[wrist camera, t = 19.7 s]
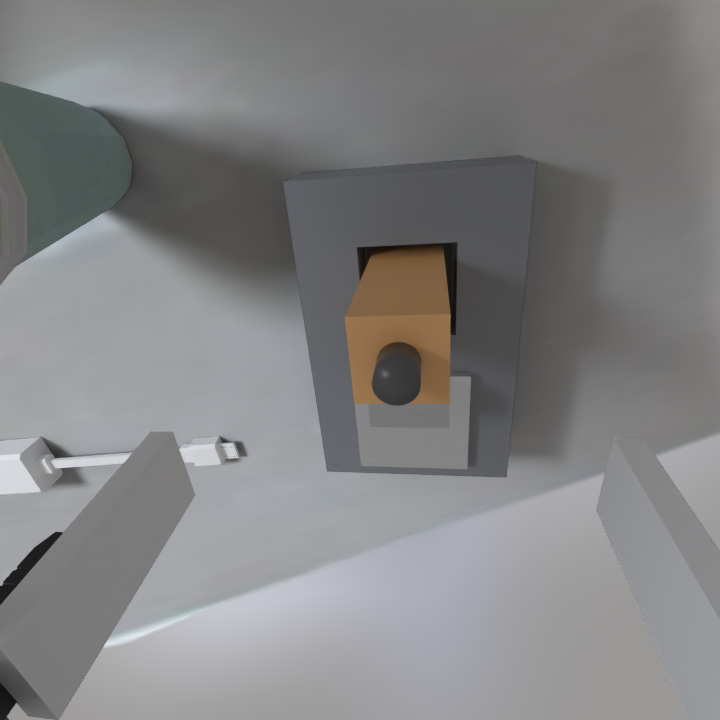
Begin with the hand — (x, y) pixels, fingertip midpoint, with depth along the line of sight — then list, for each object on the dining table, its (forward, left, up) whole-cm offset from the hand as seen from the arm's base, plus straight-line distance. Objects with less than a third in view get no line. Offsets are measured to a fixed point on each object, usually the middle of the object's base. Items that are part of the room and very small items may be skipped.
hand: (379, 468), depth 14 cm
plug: (0, 0, -19) cm, 19 cm away
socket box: (+4, 0, -21) cm, 22 cm away
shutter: (+10, 0, -16) cm, 19 cm away
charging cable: (+18, -34, -22) cm, 44 cm away
